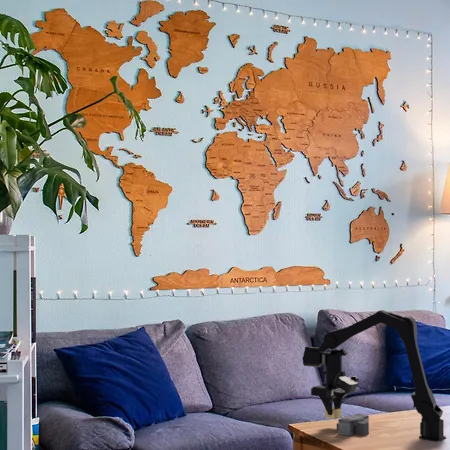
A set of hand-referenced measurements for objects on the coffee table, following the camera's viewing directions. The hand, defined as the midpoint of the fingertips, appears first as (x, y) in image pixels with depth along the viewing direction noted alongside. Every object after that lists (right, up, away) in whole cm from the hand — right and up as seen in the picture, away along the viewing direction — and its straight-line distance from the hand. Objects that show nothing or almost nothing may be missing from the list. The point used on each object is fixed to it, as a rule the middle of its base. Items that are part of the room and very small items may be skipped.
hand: (333, 414), depth 248 cm
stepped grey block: (+5, -5, -5) cm, 9 cm away
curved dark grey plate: (+6, -5, -6) cm, 9 cm away
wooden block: (0, -1, 0) cm, 1 cm away
